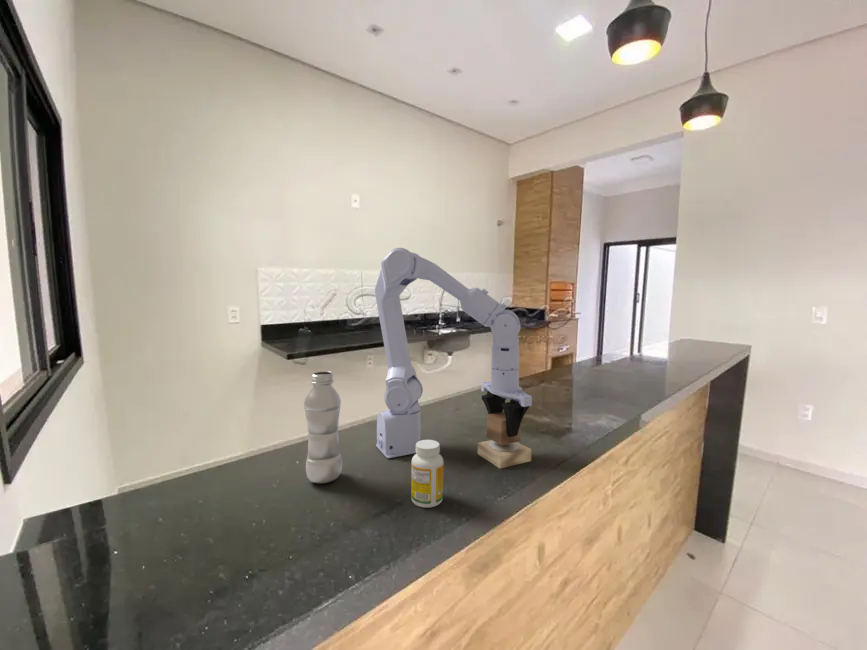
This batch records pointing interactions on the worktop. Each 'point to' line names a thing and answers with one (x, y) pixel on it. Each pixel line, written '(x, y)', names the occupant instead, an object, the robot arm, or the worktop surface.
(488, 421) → the walnut cube
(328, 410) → the plastic bottle
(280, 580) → the worktop surface
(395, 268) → the robot arm
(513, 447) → the base block
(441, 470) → the supplement bottle
